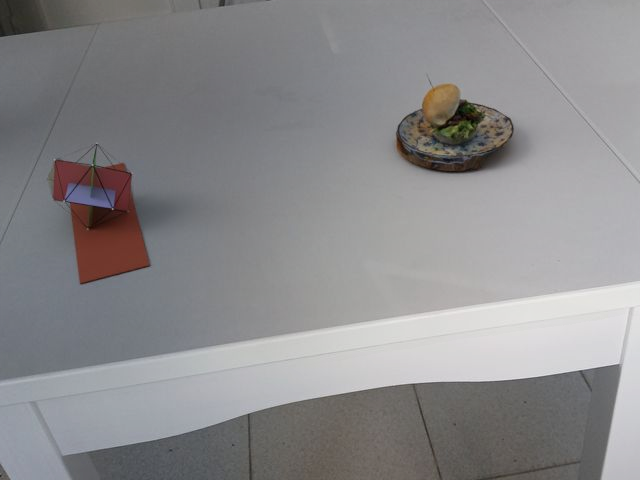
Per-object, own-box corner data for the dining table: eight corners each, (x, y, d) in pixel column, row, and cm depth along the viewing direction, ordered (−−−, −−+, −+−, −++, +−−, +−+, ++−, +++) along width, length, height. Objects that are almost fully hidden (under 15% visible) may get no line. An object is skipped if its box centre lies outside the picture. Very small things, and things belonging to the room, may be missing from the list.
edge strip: (80, 284, 62) (79, 283, 62) (66, 176, 76) (66, 175, 76) (149, 265, 63) (149, 264, 63) (123, 163, 77) (123, 162, 77)
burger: (499, 179, 69) (505, 103, 64) (381, 166, 72) (377, 93, 67) (522, 121, 77) (529, 50, 72) (415, 112, 80) (414, 44, 75)
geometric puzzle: (153, 169, 71) (82, 115, 66) (150, 206, 66) (73, 150, 61) (108, 216, 74) (37, 167, 69) (102, 255, 69) (25, 205, 64)
